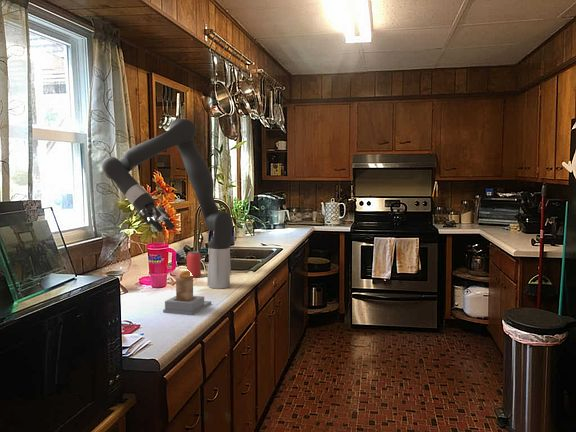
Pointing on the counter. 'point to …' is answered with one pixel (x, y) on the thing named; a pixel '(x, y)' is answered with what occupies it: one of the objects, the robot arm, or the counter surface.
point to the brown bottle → (184, 287)
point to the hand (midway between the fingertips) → (167, 229)
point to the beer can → (194, 263)
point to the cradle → (185, 305)
